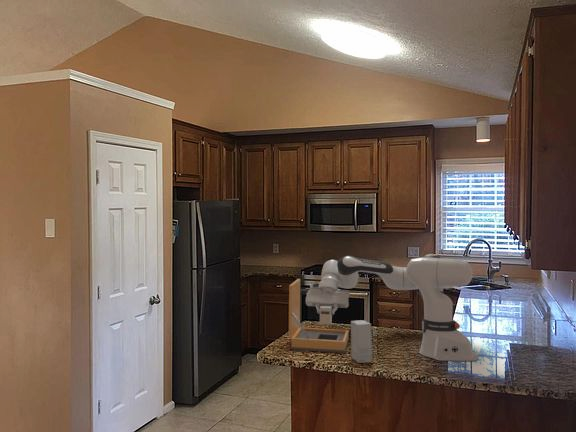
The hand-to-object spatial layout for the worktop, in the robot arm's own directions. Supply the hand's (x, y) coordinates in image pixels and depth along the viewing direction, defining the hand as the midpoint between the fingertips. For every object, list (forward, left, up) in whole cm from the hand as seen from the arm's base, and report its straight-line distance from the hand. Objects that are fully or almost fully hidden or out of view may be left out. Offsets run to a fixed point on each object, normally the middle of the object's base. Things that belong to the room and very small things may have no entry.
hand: (325, 313), depth 239 cm
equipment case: (0, +18, -10) cm, 20 cm away
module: (0, -1, -4) cm, 4 cm away
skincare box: (-18, +36, -10) cm, 41 cm away
